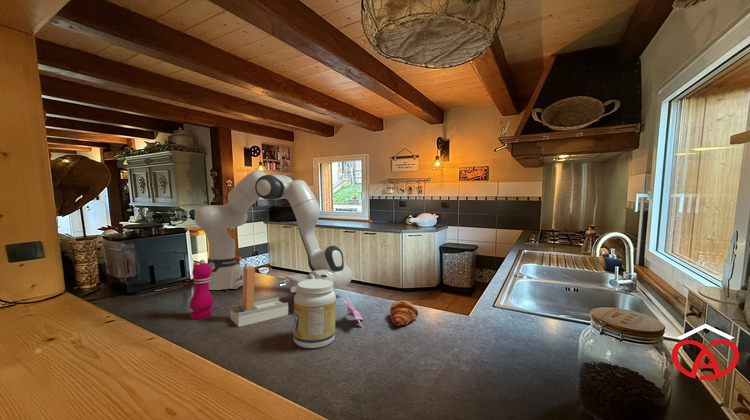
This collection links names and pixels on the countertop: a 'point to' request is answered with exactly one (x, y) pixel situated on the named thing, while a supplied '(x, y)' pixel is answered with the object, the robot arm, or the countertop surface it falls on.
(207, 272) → the pepper mill
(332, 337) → the supplement tub
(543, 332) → the countertop surface
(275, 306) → the white base plate
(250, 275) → the lever
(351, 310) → the lily
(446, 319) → the countertop surface
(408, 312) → the croissant
